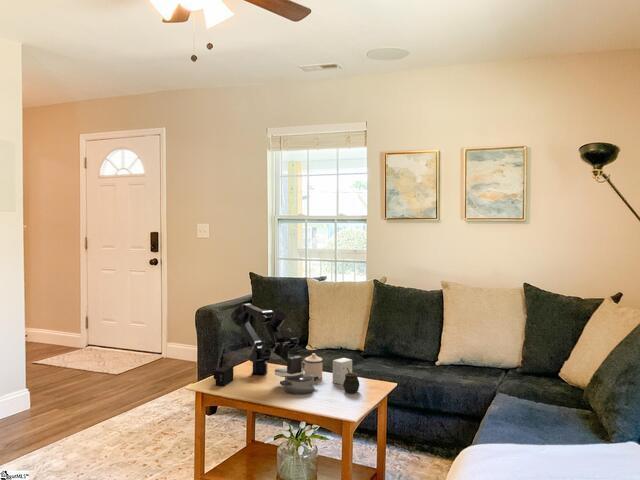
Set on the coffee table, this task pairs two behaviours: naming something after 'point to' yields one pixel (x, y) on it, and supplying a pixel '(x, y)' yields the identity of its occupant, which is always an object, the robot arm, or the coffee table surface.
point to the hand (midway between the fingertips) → (287, 360)
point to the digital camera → (223, 375)
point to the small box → (341, 369)
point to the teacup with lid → (313, 366)
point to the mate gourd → (351, 382)
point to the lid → (291, 368)
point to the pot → (299, 384)
